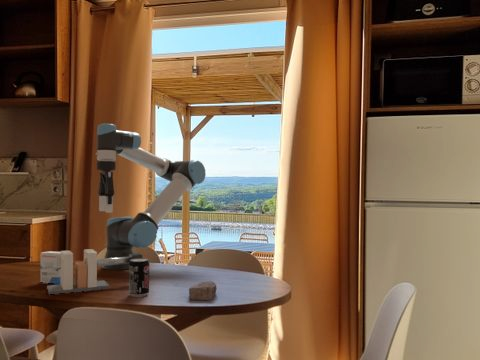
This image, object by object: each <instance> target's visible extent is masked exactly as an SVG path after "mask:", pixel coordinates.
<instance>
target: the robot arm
mask: <svg viewBox="0 0 480 360" xmlns="http://www.w3.org/2000/svg"><path fill="white" fill-rule="evenodd" d="M141 144H142V137H141V135H140V134H139V133H138V132H135V131H134V132H133V131H124V130H117V126H116V124H114V123H99V124H98V125H97V131H96V153H95V156H96V160H97V162H96V170H97V171H101V172H100V173H99V185H98V192H97V193H98V199H99V200H98V205H99V207H98V211H99V212H105V213H107V214H108V213H109V214H110V213H114V211H113V210H114V207H113V206H114V205H113V204H114V195H115V188H114V177H113V175H114V173H113V171H116V166H117V164H116V160H117V155H119V156H120V157H122V158H124V159H126V160H129V162H130V161H131V162H133V163H134V164H137V165H139V166H142V167H143V168H145V169H148V170H150V171H152V172H153V173H155V174H156V175H157V177H160V178H162V179H164V180H166V181H168V182H169V183H168V184H167V185H166V186H165V188H163V190H162V191H161V192H160V193H159V194H158V195H157V196H156V198H155V199H154V200H153V201H152V202H151V203H150V205H148V207H146V209H145V210H144V211H143V212H138V213H137V214H136V215H135V216H134V218H133V217H132V216H121V217H111V218H108V219H107V221H106V252H105V254H104V257H103V259H104V258H118V257H129V254H135V253H134V250H133V248H137V249H141V248H142V249H143V248H149V246H151V245H152V244H154V242H155V241H156V239H157V238H158V237H157V236H158V235H157V234H158V230H159V224H160V222H161V221H162V220H163V219H164V218H165V217H166V215H168V214H169V212H170V210H172V208H173V207H174V206H175V204H177V202H178V201H179V199H181V197H182V196H183V195H184V194H185V193H186V192H188V191H189V192H190V191H191V190H192V189H193V188H194V187H195V186H196V185H199V184H202V183H203V182H204V181H205V178H206V168H205V166H204V164H203V162H202V161H199V160H197V159H190V160H177V161H176V160H175V161H173V160H170V159H167V158H164V157H163V158H161V157H159V156H157V155H155V154H154V153H151V152H149V151H147V150H145V149H143V148H142V147H141ZM101 268H102V269H104V270H108V271H113V270H114V271H118V270H121V271H122V270H129V264H118V265H105V266H101Z"/></svg>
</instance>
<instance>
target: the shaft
mask: <svg viewBox="0 0 480 360" xmlns="http://www.w3.org/2000/svg"><path fill="white" fill-rule="evenodd" d="M139 258H143V254H142V253H134V254H129V257H118V258H104V257H103V258H97V267H102V266H105V265H118V264H130V260H131V259H139Z"/></svg>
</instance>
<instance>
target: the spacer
mask: <svg viewBox="0 0 480 360" xmlns="http://www.w3.org/2000/svg"><path fill="white" fill-rule="evenodd" d="M74 283H75V285H76V286H77V288H83V287H87V264H86V263H85V262H84V260H82V261H74Z"/></svg>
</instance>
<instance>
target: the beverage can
mask: <svg viewBox="0 0 480 360" xmlns="http://www.w3.org/2000/svg"><path fill="white" fill-rule="evenodd" d="M128 271H129V272H128V276H129V277H128V294H129V295H130V297H131V298H133V297H134V298H142V297H146V296H148V294H149V293H150V262H149V259H148V258H143V257H142V258H139V259H131V260H130V264H129V269H128Z"/></svg>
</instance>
